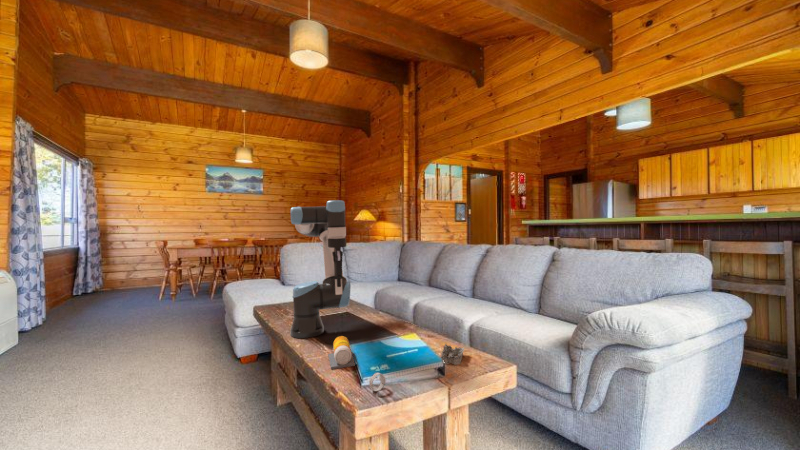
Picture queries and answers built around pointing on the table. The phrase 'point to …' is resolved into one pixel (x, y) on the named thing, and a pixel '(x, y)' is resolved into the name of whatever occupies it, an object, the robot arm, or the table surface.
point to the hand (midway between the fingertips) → (339, 294)
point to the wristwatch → (382, 381)
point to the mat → (335, 365)
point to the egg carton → (452, 355)
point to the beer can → (342, 350)
